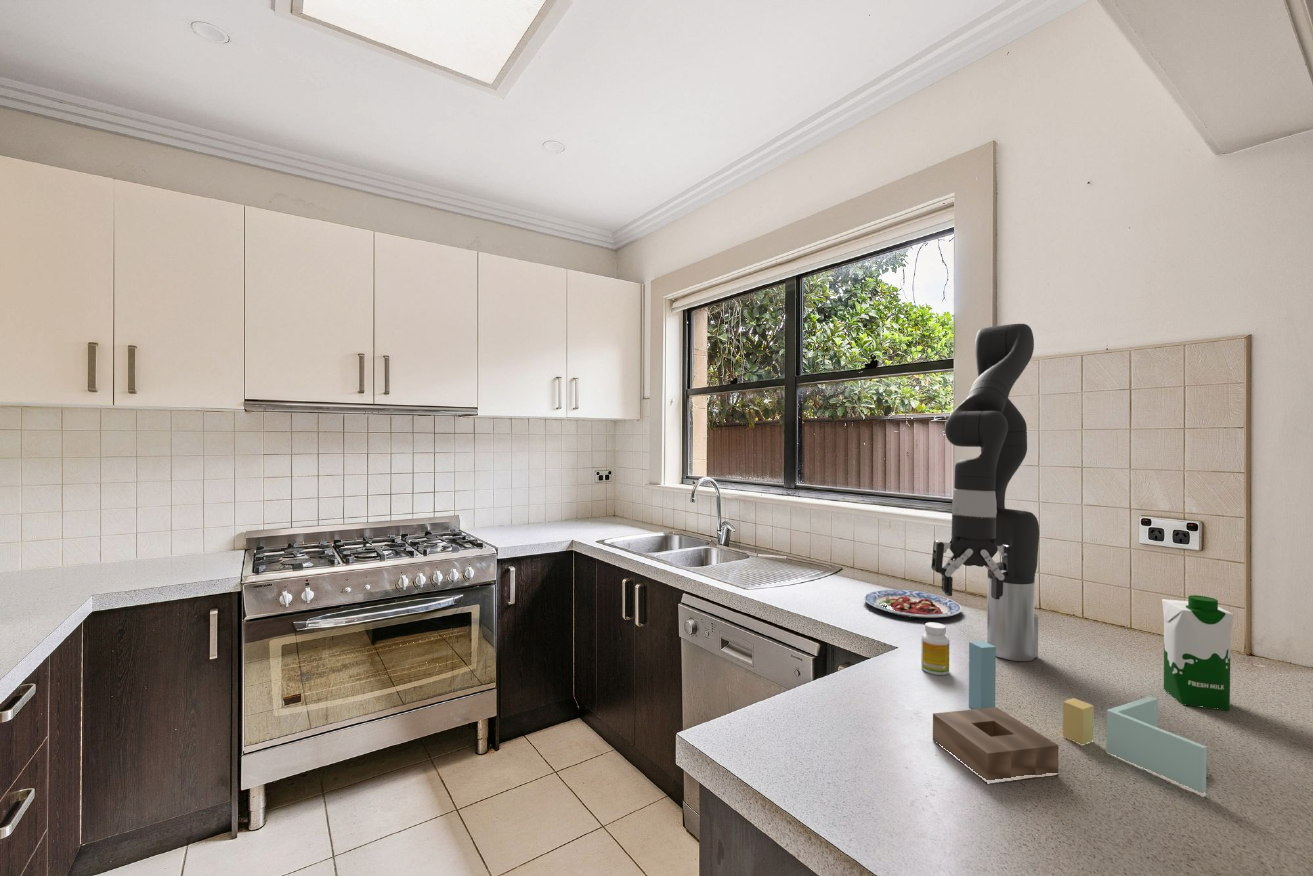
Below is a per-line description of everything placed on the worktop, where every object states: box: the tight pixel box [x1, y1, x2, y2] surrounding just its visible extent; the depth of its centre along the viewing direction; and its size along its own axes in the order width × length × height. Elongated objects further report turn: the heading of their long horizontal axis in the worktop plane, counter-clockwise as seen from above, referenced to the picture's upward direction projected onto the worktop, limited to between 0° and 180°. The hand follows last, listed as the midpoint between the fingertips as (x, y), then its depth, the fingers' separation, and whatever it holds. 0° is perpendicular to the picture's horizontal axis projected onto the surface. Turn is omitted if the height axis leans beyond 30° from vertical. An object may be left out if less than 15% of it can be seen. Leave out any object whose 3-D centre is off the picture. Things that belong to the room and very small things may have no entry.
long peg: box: [968, 640, 997, 710], centre depth 105 cm, size 3×3×12 cm
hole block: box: [932, 706, 1060, 780], centre depth 90 cm, size 12×12×4 cm
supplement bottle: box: [920, 621, 950, 676], centre depth 123 cm, size 5×5×10 cm
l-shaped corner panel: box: [1106, 695, 1208, 793], centre depth 88 cm, size 12×12×8 cm
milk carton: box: [1161, 594, 1235, 711], centre depth 109 cm, size 9×9×20 cm
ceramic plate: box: [864, 589, 963, 619], centre depth 166 cm, size 26×26×3 cm
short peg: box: [1062, 697, 1095, 744], centre depth 95 cm, size 3×3×6 cm
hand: (971, 596), depth 111 cm, fingers open, 8 cm apart
